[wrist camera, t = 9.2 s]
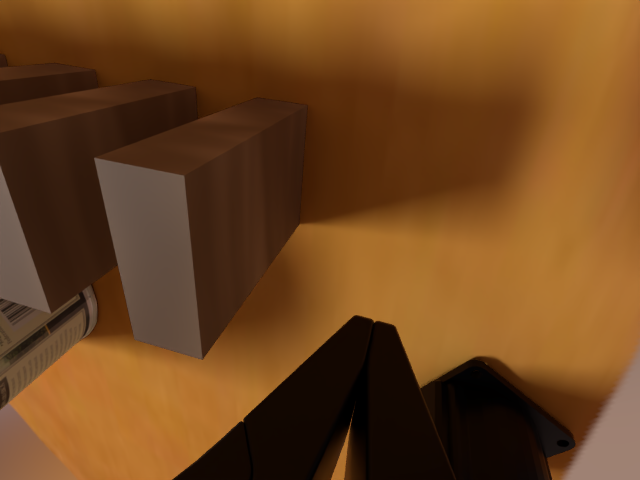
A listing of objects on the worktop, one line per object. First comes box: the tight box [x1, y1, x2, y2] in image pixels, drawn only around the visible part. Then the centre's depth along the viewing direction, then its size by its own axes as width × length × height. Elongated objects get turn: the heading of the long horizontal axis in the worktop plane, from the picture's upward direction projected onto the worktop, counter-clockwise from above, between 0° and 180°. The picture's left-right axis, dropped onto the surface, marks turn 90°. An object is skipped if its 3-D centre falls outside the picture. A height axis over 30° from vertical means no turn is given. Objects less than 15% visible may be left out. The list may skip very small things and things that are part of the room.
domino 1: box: [94, 98, 307, 360], centre depth 12 cm, size 2×5×8 cm, turn 175°
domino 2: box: [0, 79, 198, 314], centre depth 13 cm, size 2×5×8 cm, turn 174°
